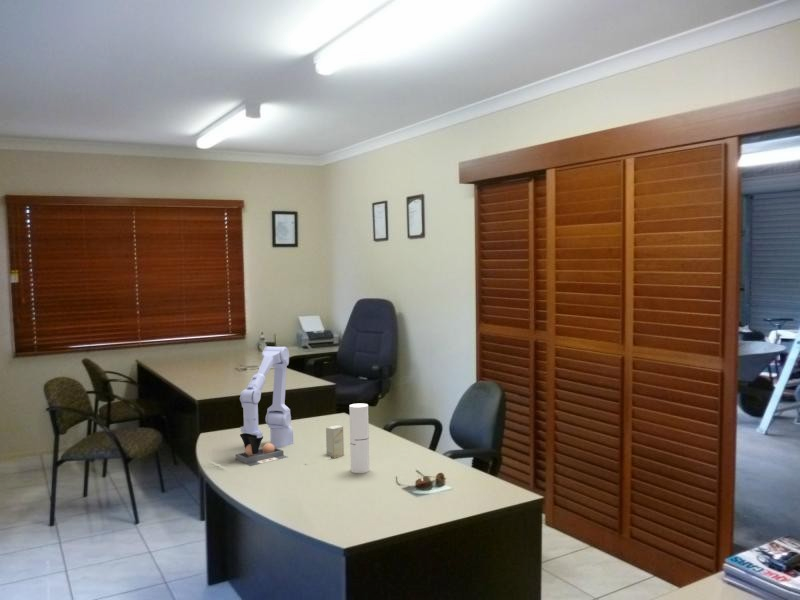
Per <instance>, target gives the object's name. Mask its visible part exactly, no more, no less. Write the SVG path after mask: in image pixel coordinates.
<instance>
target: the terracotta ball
mask: <svg viewBox="0 0 800 600" xmlns="http://www.w3.org/2000/svg"><path fill="white" fill-rule="evenodd" d="M244 449H245V448H244ZM244 452H246V454H247V455H248V456H255V455H256V454H253V453H252V448H251V444H249V445H248V446H247V447H246V449H245V450H244Z"/></svg>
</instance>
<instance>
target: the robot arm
mask: <svg viewBox="0 0 800 600" xmlns="http://www.w3.org/2000/svg"><path fill="white" fill-rule="evenodd" d="M261 356H262V357H261V359H262V361H261V362H260V365H259V368H258V370H257V373H255V374H253V375H252V377H251V379H250V380H249V383H248V384H247V387H246V388H244V389H243V390H241V392H240V397H239V401H240V403H241V408H243V409H242V411H243V426H240V432H241V433H240V435H239V436H240V438H241V439H242V442H243V446H244V449H246V447H247V446H248V445H249V444H251V448H252V453H253V454H257V453H258V451H259V449H260V445H261V443H262V441H263V439H264V435H263V432H262V431H261V429H260V428H259V407H258V406H259V405H258V404H259V402H260V400H261V398H262V396H261V395H262V390H263V388H264V386H265V384H266V382H267V380H266V379H267V378H266V376H267V375H268V373H269V371H270V370H271V368H272V367H273V368H274V371H273V373H274V375H273V389H272V392H273V393H272V404H271V405H270V406H269V407H267V410H266V411H267V412H266V415H265V417H264V418H265V423H266V425H267V426H268V428H269V429H270V430H269V436H270V437H269V438H270V440H269V441H270V443H271V444H273V445H274V447H276V448H285V447H287V446H290V445H294V443H295V442H294V429H293V427H292V426H291V425H290V424H291V422H292V416H291V408H289V407H288V406H287V405H286V404H285V403H286V402H285V400H286V385H287V384H286V383H287V369H288V368H287V366H289V363H290V351H289V349H288V348H287V346H267V345H266V346H264V348H263V349H262V353H261Z"/></svg>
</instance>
